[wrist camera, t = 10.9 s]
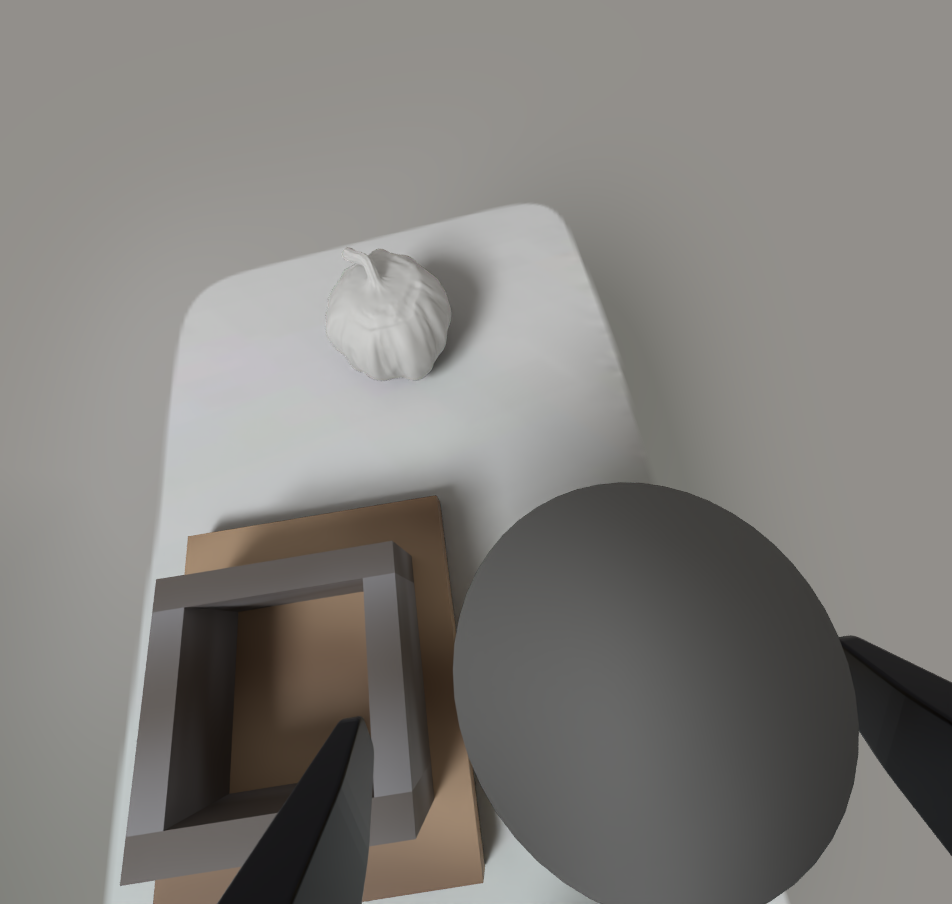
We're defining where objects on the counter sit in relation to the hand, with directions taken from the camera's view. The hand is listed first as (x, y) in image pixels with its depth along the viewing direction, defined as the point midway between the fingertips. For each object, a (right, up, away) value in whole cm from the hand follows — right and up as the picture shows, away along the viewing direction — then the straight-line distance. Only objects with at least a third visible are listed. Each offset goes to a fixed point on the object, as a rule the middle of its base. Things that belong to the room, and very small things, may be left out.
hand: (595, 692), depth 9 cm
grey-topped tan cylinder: (+1, -2, +8) cm, 8 cm away
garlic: (-6, +10, +13) cm, 18 cm away
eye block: (-8, -4, +8) cm, 12 cm away
